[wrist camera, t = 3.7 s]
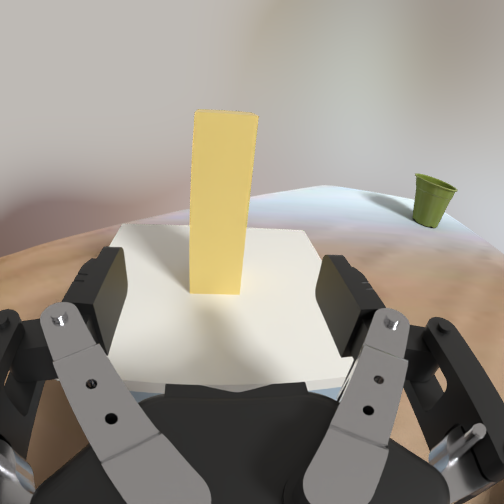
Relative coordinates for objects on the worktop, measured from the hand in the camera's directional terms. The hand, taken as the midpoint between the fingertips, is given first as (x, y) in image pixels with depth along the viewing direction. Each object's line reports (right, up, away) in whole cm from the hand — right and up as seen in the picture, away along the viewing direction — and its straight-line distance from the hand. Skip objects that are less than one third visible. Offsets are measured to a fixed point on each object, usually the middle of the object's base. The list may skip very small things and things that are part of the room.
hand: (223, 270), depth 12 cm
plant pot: (+45, +8, +57) cm, 73 cm away
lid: (-2, -2, +11) cm, 12 cm away
